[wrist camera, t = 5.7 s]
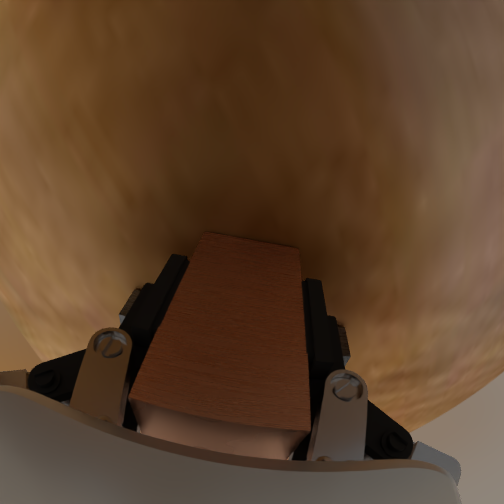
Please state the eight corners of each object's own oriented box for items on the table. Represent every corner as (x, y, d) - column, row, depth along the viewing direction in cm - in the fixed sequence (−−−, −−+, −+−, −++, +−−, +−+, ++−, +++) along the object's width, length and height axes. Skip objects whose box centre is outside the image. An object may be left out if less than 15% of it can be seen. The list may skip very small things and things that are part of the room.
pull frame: (129, 218, 12) (15, 348, 5) (373, 262, 12) (434, 425, 5) (154, 408, 21) (128, 490, 14) (285, 431, 21) (281, 517, 14)
